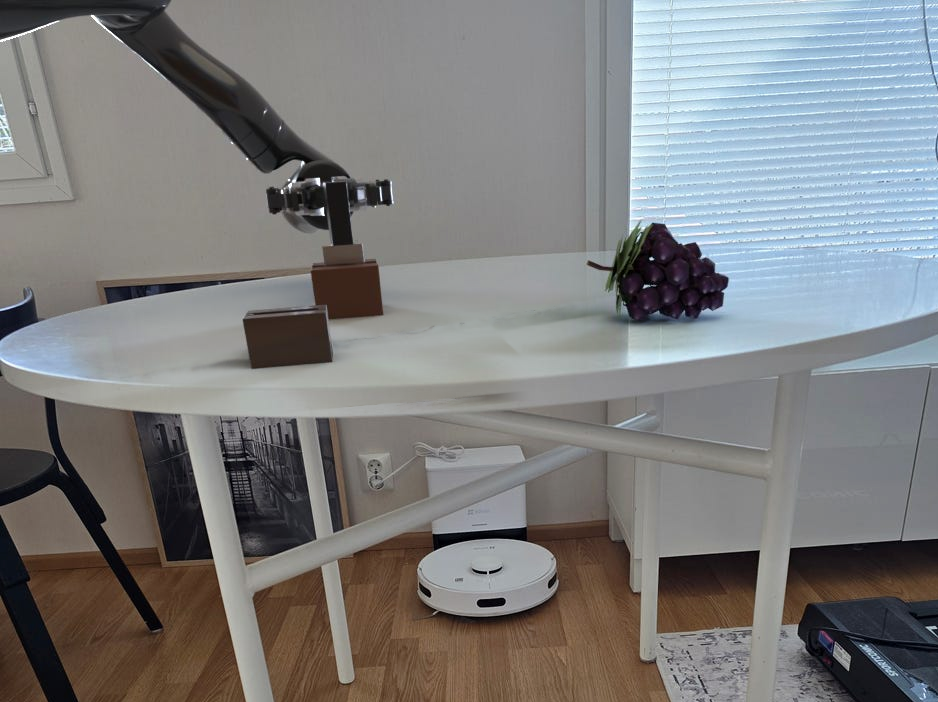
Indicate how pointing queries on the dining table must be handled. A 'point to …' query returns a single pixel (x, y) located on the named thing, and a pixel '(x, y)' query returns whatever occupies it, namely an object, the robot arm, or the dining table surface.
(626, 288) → the fruit
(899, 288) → the dining table surface
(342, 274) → the slotted brown box
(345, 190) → the knife
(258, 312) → the knife block
